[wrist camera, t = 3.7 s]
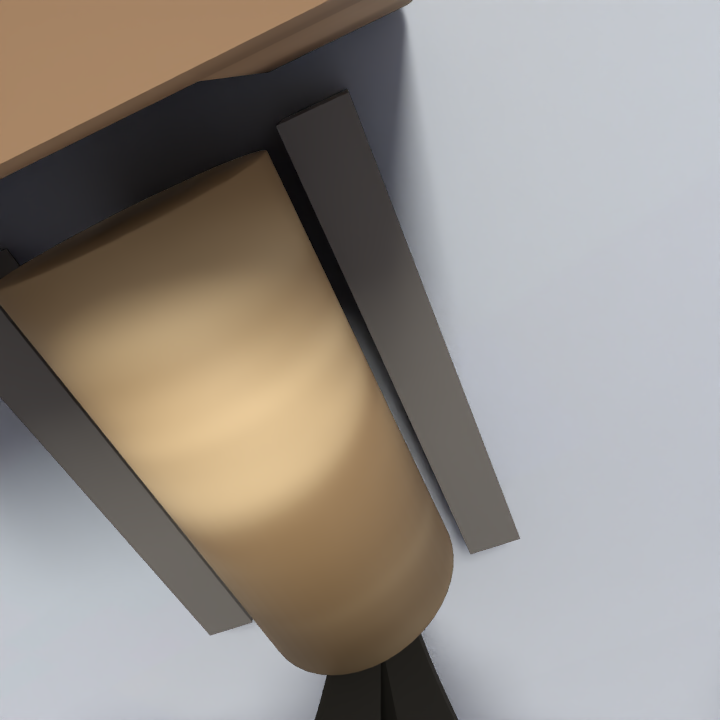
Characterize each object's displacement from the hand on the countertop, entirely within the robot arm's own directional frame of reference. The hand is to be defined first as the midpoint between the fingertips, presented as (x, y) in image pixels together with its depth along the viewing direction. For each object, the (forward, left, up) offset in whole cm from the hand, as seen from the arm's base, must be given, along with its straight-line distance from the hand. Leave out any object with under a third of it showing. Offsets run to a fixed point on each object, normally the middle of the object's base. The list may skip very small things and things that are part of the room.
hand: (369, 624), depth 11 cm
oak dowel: (+4, -4, -2) cm, 6 cm away
